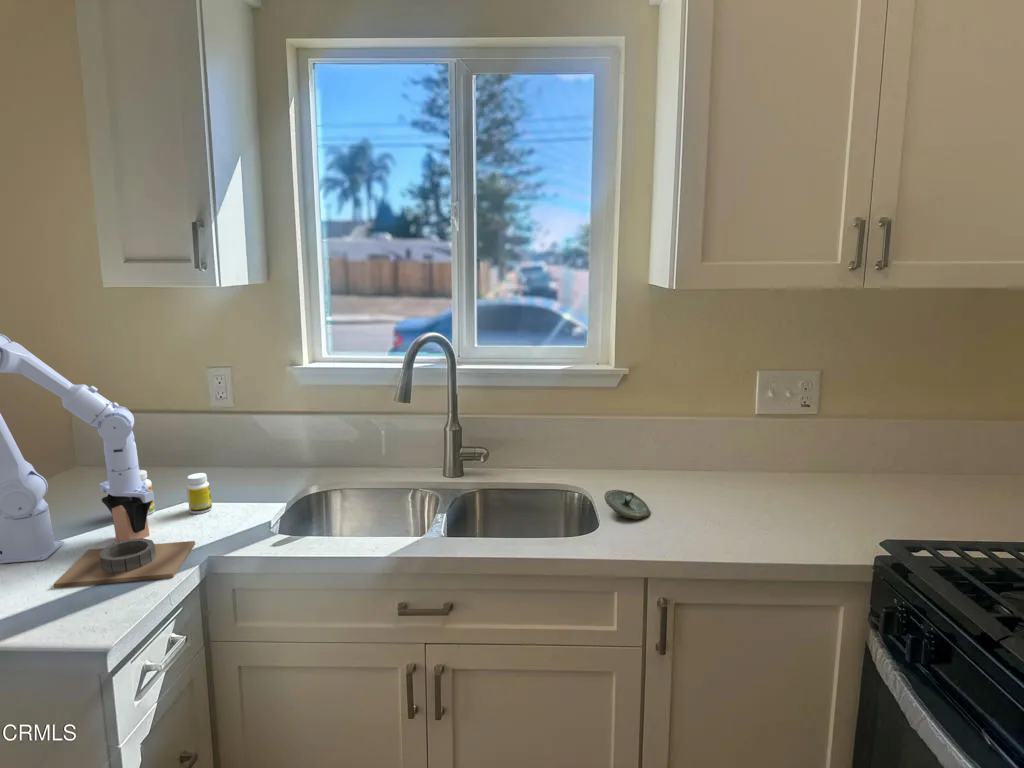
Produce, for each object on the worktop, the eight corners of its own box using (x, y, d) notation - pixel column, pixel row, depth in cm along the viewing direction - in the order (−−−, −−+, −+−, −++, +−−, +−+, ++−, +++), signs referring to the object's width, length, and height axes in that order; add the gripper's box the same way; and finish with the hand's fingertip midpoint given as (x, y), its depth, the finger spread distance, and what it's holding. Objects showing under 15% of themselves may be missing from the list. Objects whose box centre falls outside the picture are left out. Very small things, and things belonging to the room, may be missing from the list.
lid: (614, 500, 157) (615, 480, 156) (655, 508, 152) (656, 487, 151) (596, 516, 148) (597, 495, 147) (639, 525, 143) (640, 503, 142)
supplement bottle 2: (215, 509, 155) (211, 475, 153) (194, 516, 152) (190, 480, 150) (206, 504, 158) (202, 470, 156) (186, 510, 155) (181, 476, 153)
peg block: (116, 540, 140) (111, 508, 138) (136, 531, 144) (131, 501, 142) (129, 544, 138) (125, 512, 136) (149, 535, 142) (145, 504, 140)
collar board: (54, 587, 120) (51, 571, 120) (89, 553, 134) (86, 537, 133) (173, 577, 124) (170, 561, 123) (195, 544, 137) (193, 529, 136)
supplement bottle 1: (149, 506, 157) (143, 467, 155) (159, 512, 154) (154, 471, 152) (124, 513, 153) (118, 473, 151) (134, 519, 150) (128, 478, 148)
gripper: (163, 465, 138) (172, 527, 141) (119, 456, 144) (127, 515, 147) (131, 476, 132) (140, 540, 134) (86, 466, 138) (95, 528, 141)
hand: (131, 528), depth 140 cm, fingers closed on peg block, 4 cm apart
